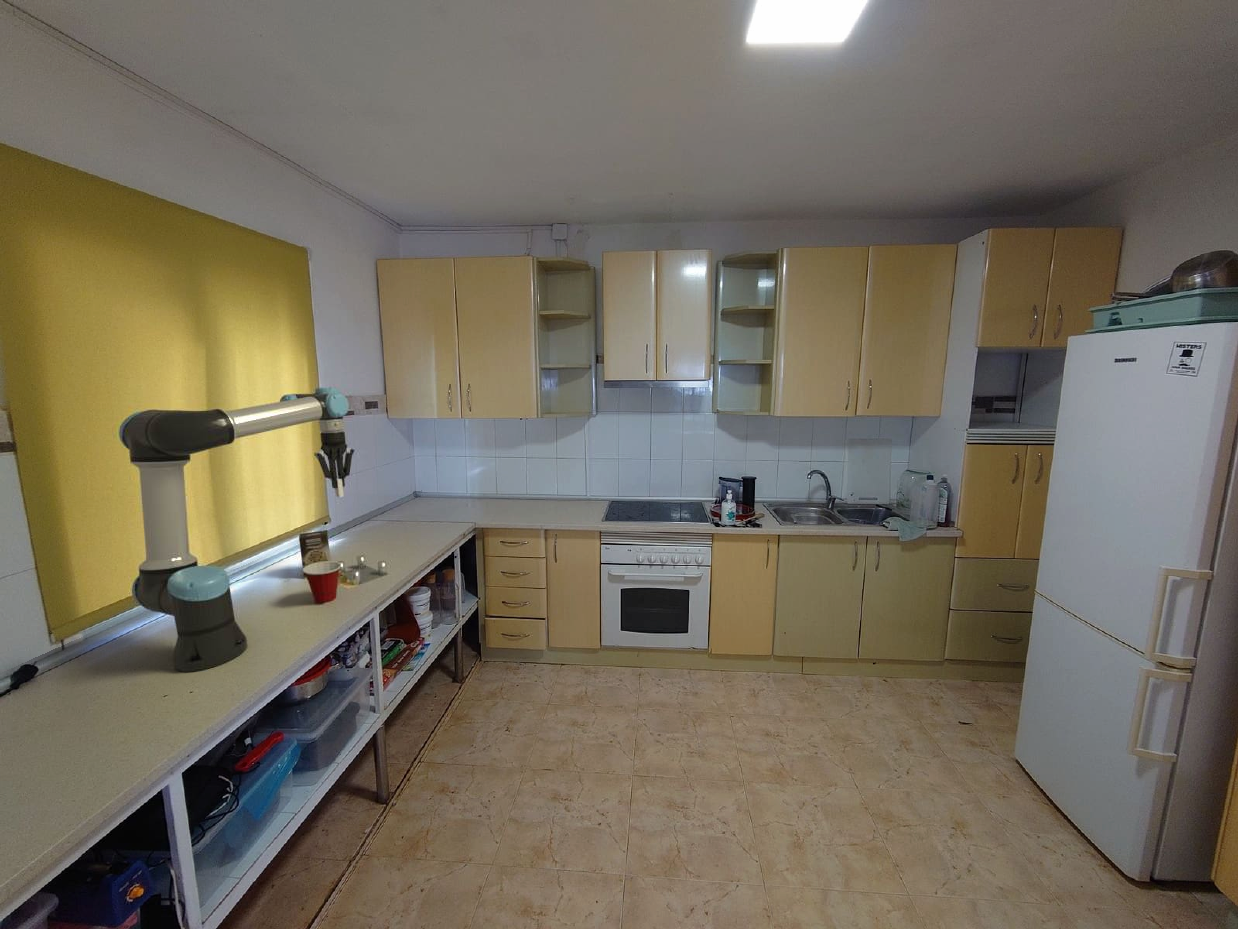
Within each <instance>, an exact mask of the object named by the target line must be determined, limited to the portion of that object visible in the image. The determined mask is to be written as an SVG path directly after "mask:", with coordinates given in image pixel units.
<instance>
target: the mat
mask: <svg viewBox="0 0 1238 929" xmlns="http://www.w3.org/2000/svg"><path fill="white" fill-rule="evenodd" d="M354 570H360V576H361V584H359V585H352V578H351V572H352V571H354ZM345 572H346V573H347V578H348V580H347V582H345V583H342V584H337V586H339V587H341V588H344V589H347V590H349V589H352V588H355V587H357V586H360V585H364V584H365V583H368V582H371V581H374V580H377V579H380V578H383V577H385V576H388V575H389V573H387V574H386V575H383V576H380V575H379V571H378V569H376V568H373V567H370V566H367V565H366V568H364V569H358V566H357V567H355V568H351V569H348V570H345Z"/></svg>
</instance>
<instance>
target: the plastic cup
mask: <svg viewBox="0 0 1238 929" xmlns="http://www.w3.org/2000/svg"><path fill="white" fill-rule="evenodd" d="M338 562H339V561H332V560H331V561H323V562H317V563H313V564H310V565H308V566H306V567H304V568H303V567H302V573H303V572H304V573H305V575H306V577H307V579H306V580H307V582H308V584H309V585H308V586H309V588H310V591H311V594H312V595H313V598H314V601H315V604H317V605H324V604H326V603H330V602H332V601H334V600H335V599H336V598H337V594H338V593H337V592H338V591H337V590H338V585H337V584H338V574H339V569H340V567H341V564H340V563H338Z"/></svg>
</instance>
